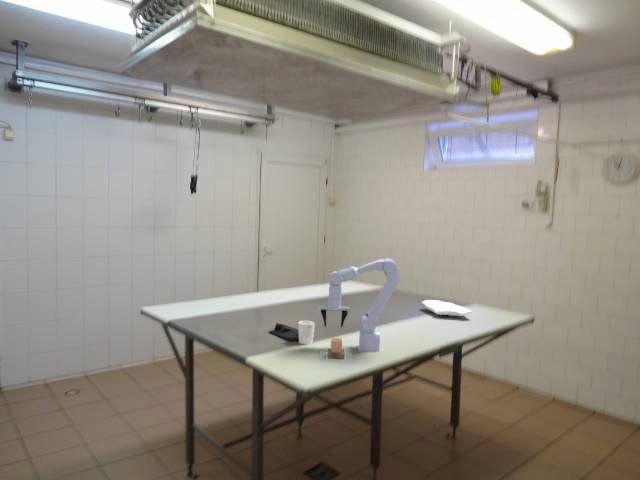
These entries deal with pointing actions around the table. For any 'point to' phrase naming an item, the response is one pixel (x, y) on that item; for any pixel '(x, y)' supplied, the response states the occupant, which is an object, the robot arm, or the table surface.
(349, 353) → the blueprint board
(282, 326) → the dark slate chunk
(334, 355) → the base block
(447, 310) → the crumpled cloth
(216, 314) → the table surface
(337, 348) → the top block
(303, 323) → the white cup
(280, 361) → the table surface
